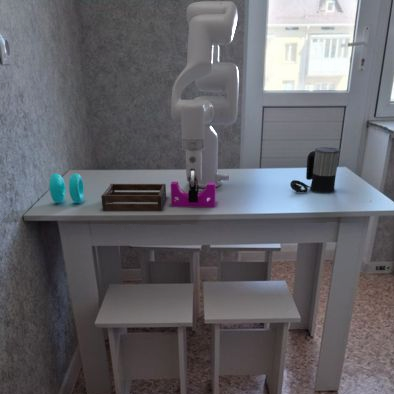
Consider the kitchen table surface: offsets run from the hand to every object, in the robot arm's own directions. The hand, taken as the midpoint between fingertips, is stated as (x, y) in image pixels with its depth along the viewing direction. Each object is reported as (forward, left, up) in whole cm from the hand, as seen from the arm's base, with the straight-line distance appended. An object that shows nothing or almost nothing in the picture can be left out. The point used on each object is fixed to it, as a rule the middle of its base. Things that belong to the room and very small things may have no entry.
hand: (193, 198), depth 171 cm
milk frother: (-45, -19, -2) cm, 48 cm away
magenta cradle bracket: (0, 0, -2) cm, 2 cm away
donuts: (+44, -1, -2) cm, 45 cm away
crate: (+20, 0, -2) cm, 21 cm away
